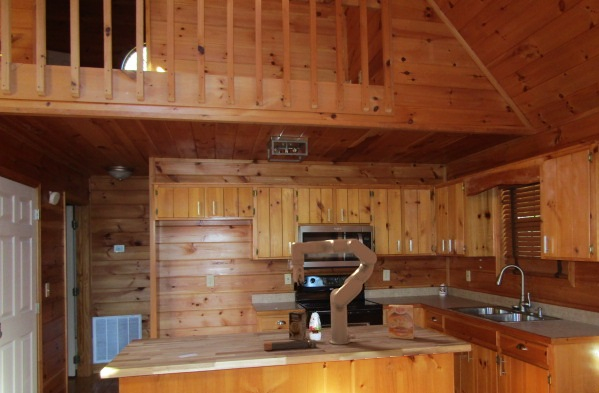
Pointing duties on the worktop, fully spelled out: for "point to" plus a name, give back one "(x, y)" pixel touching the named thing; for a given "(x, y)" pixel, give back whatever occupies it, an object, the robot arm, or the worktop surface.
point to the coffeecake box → (401, 321)
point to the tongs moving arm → (287, 345)
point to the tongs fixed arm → (300, 340)
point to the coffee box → (297, 325)
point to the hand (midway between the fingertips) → (298, 291)
